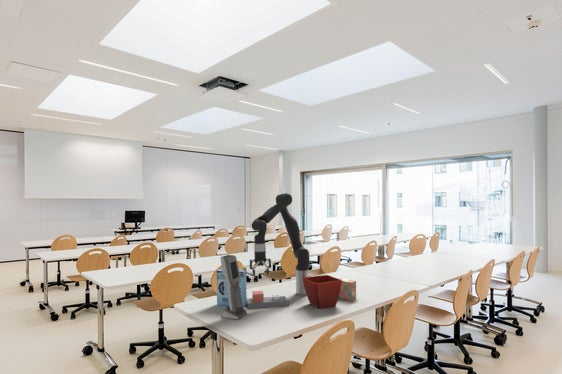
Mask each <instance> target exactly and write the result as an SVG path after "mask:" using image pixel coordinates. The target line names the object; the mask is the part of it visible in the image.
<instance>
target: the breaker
mask: <svg viewBox="0 0 562 374" xmlns="http://www.w3.org/2000/svg"><path fill="white" fill-rule="evenodd" d="M279 296H280V295H279V294H274V295H272V296H271V297H272V299H273V301H275V300H280V297H279Z"/></svg>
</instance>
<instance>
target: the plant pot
mask: <svg viewBox="0 0 562 374" xmlns="http://www.w3.org/2000/svg"><path fill="white" fill-rule="evenodd" d="M303 282H304V287H305V291H306V297H307V299H308V302H309V305H312V306H313V307H315V308H317V309H324V308H330V307H336V306H337V303H338V301H339V298H338V297H339V294H340V289H341V282H342V280H340V278H337V277H334V276H332V275H329V274H324V275H313V276H308V277H304V278H303Z"/></svg>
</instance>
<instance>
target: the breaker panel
mask: <svg viewBox="0 0 562 374" xmlns="http://www.w3.org/2000/svg"><path fill="white" fill-rule="evenodd" d="M279 297H280V300H275V301H273V299H272V296H266V297H265V296H264V302H253V299H252V297H250V298H248V297H247V305H246V307H247V309H261V308H274V307H289V299H287V297H286V296H285V295H281V296H280V295H279Z"/></svg>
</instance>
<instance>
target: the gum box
mask: <svg viewBox="0 0 562 374" xmlns="http://www.w3.org/2000/svg"><path fill="white" fill-rule="evenodd" d="M239 273H240V277H241V282H240V284H239V289H240V294H241V299H242V304H243V308H245V307H247V298H248V297H247V296H248V295H247V269H239ZM224 279H225V278H224V274H223V270H222V268H218V269H217V270H216V305H217V306H224V307H225V306H226V307H228V306H229V301H228V295H227V287H226V282H225V281H224Z"/></svg>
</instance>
